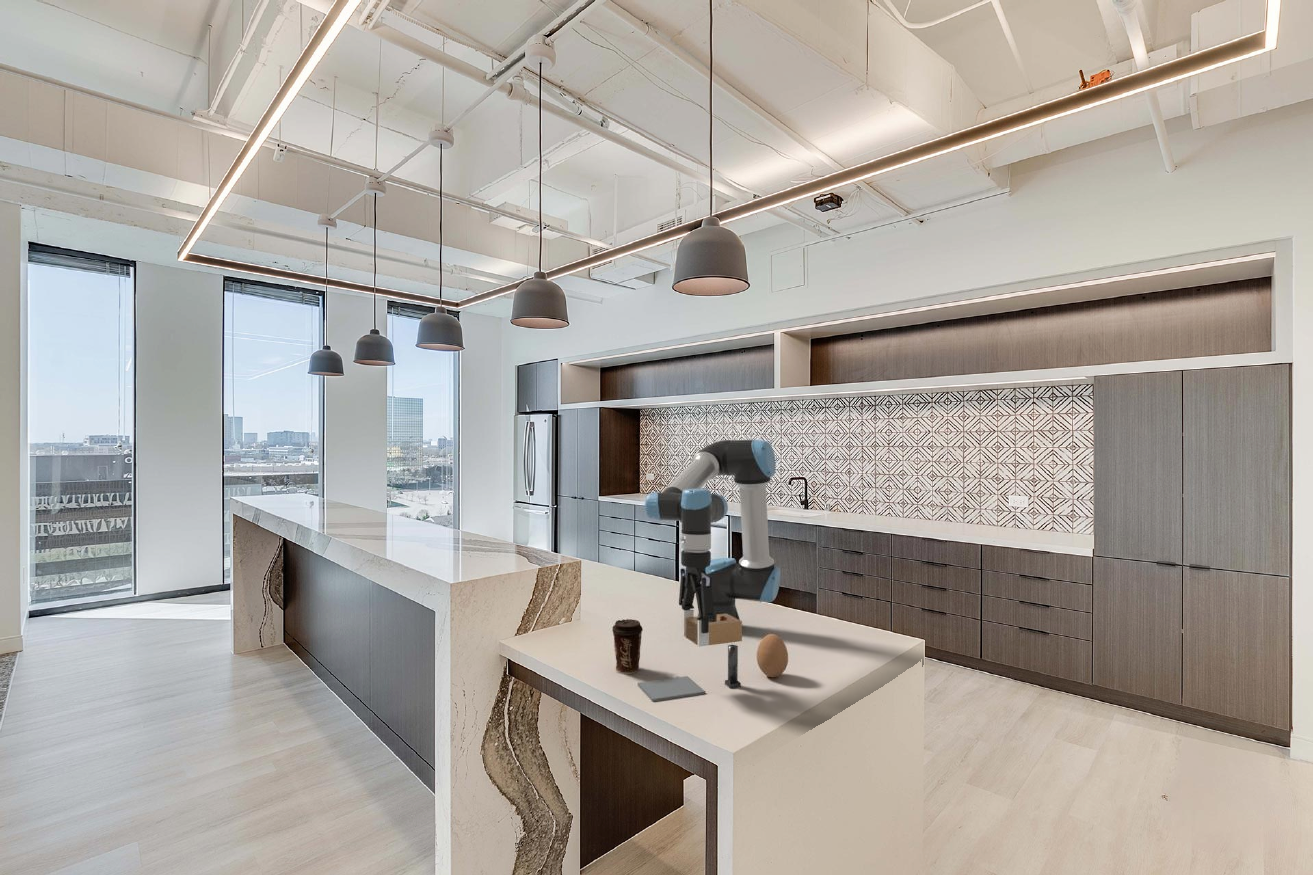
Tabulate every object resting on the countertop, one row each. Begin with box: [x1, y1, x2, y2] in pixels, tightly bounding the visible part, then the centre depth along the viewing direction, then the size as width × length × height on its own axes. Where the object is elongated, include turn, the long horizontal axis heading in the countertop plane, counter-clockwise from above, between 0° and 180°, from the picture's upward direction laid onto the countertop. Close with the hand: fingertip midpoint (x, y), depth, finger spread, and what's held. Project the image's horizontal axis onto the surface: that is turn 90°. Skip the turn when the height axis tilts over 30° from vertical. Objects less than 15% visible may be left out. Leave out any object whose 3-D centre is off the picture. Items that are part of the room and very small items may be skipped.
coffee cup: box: [612, 618, 644, 675], centre depth 169 cm, size 9×8×13 cm
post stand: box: [724, 644, 742, 689], centre depth 158 cm, size 3×3×10 cm
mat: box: [637, 675, 706, 702], centre depth 155 cm, size 14×11×1 cm
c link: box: [685, 614, 743, 646], centre depth 157 cm, size 12×8×5 cm, turn 112°
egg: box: [756, 633, 789, 678], centre depth 164 cm, size 8×8×11 cm
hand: (695, 640), depth 155 cm, fingers closed on c link, 8 cm apart
